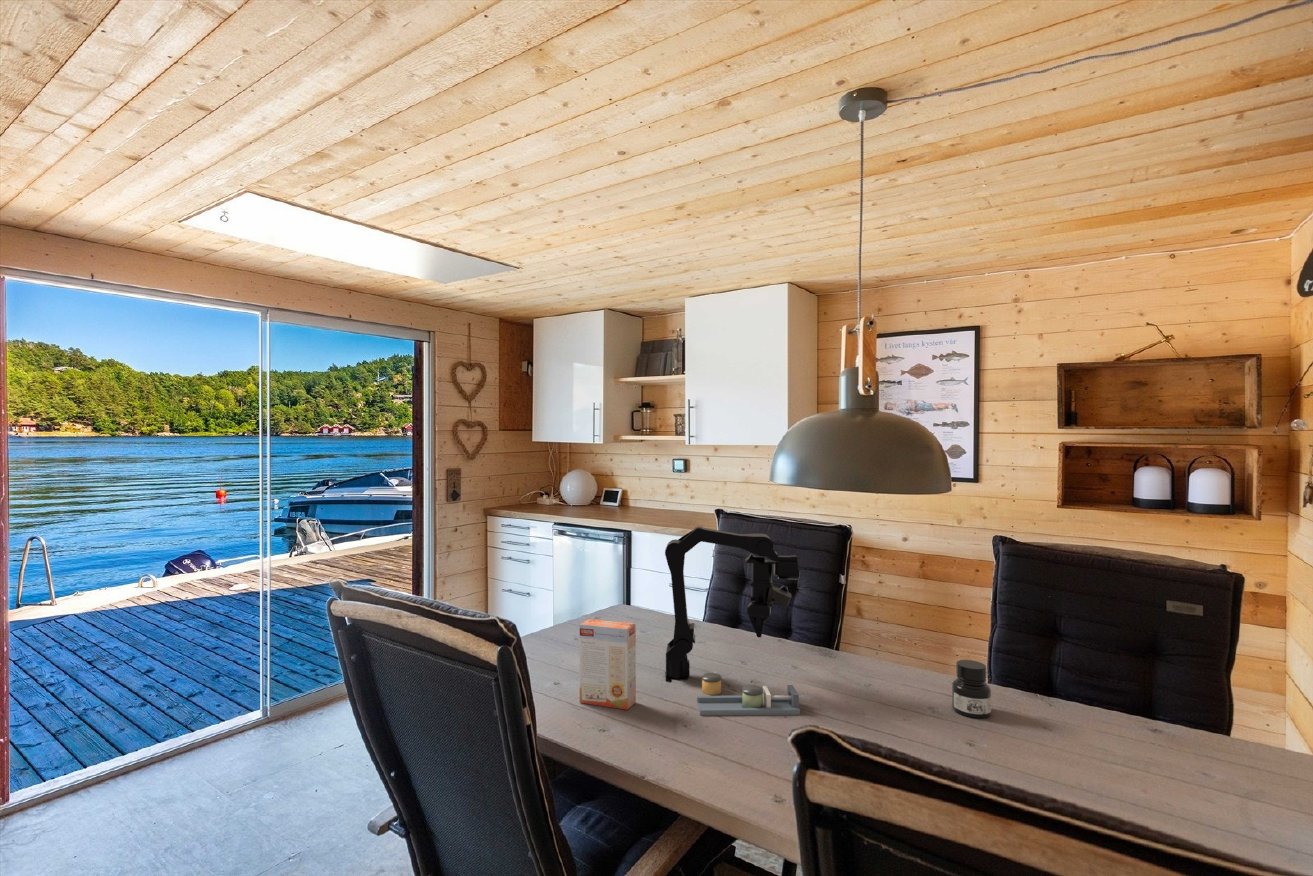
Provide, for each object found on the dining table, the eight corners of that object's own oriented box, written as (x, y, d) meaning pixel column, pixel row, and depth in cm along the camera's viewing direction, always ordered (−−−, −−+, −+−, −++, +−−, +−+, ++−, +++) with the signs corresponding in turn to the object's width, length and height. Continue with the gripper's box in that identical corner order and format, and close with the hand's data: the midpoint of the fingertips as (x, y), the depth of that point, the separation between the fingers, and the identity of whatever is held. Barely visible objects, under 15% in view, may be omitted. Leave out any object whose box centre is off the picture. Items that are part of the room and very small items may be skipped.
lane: (700, 717, 154) (700, 697, 154) (697, 702, 163) (697, 683, 163) (799, 716, 154) (799, 696, 154) (791, 702, 163) (791, 683, 163)
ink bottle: (952, 715, 155) (952, 667, 155) (948, 702, 163) (948, 656, 164) (995, 721, 152) (995, 672, 152) (990, 707, 160) (989, 660, 160)
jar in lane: (743, 712, 156) (743, 693, 156) (740, 702, 161) (740, 685, 161) (765, 711, 156) (765, 693, 156) (761, 702, 161) (761, 685, 161)
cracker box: (636, 702, 163) (636, 622, 163) (627, 711, 158) (627, 629, 158) (589, 694, 168) (589, 617, 168) (578, 703, 163) (578, 623, 163)
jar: (702, 697, 166) (702, 680, 166) (700, 689, 172) (700, 673, 172) (722, 697, 166) (722, 680, 166) (720, 689, 172) (720, 672, 172)
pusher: (766, 710, 156) (766, 695, 156) (762, 701, 162) (762, 685, 162) (814, 710, 156) (814, 694, 156) (808, 700, 162) (808, 685, 162)
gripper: (789, 587, 168) (787, 645, 168) (791, 573, 186) (790, 625, 186) (747, 584, 170) (746, 641, 170) (753, 571, 188) (752, 622, 188)
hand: (760, 632), depth 179 cm, fingers open, 9 cm apart
